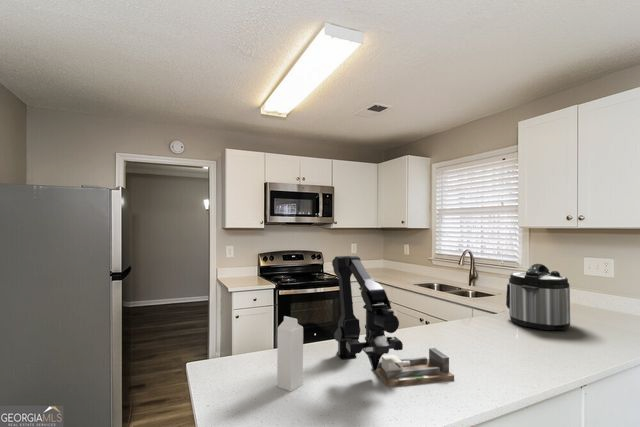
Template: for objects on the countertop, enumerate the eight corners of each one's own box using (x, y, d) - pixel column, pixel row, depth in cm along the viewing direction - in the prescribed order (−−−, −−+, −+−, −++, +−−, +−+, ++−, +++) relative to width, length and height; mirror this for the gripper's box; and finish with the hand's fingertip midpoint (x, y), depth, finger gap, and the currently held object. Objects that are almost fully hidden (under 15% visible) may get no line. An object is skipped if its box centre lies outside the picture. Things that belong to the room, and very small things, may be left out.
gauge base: (387, 386, 108) (387, 366, 109) (372, 368, 122) (372, 350, 122) (454, 379, 113) (454, 360, 114) (432, 362, 127) (432, 345, 127)
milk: (289, 379, 113) (289, 313, 114) (303, 384, 110) (303, 316, 110) (276, 386, 108) (277, 317, 109) (290, 392, 105) (291, 321, 105)
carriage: (392, 379, 110) (392, 367, 110) (381, 367, 119) (381, 355, 119) (418, 377, 111) (418, 365, 112) (405, 365, 121) (405, 353, 121)
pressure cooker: (541, 315, 193) (540, 260, 194) (587, 331, 166) (586, 266, 166) (494, 317, 189) (493, 261, 190) (533, 334, 161) (533, 267, 162)
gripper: (355, 333, 106) (355, 383, 105) (410, 329, 109) (410, 378, 109) (345, 323, 117) (345, 368, 116) (395, 320, 120) (395, 364, 120)
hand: (374, 370), depth 115 cm, fingers closed
